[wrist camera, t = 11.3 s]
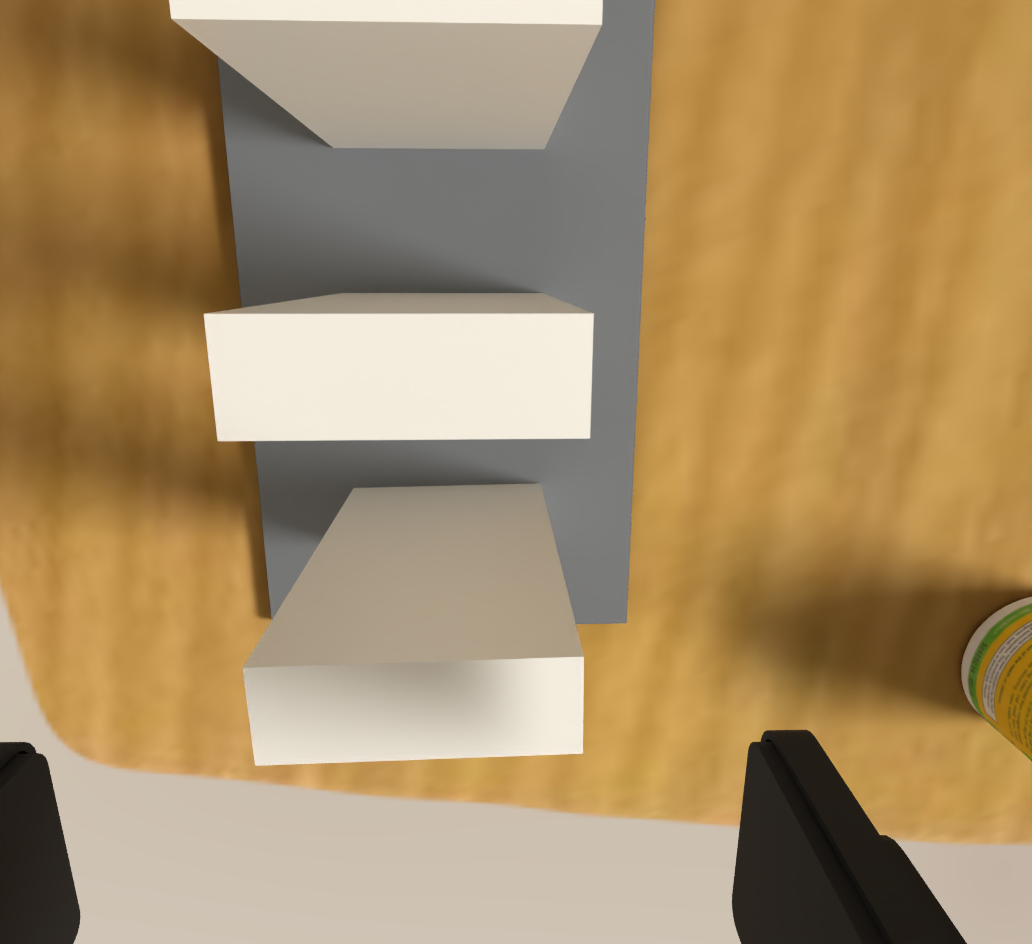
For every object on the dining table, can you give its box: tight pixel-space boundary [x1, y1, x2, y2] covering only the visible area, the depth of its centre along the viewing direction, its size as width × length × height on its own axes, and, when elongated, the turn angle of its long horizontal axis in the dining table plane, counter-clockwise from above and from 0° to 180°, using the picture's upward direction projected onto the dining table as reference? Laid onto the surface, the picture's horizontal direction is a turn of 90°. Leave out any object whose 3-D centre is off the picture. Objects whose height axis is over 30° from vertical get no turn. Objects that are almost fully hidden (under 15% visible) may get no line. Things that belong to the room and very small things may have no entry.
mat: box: [217, 0, 655, 624], centre depth 21 cm, size 32×12×1 cm, turn 0°
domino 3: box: [243, 483, 584, 766], centre depth 18 cm, size 2×6×11 cm, turn 91°
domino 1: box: [169, 0, 603, 149], centre depth 15 cm, size 2×6×11 cm, turn 90°
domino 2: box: [204, 293, 594, 441], centre depth 17 cm, size 2×6×11 cm, turn 90°
